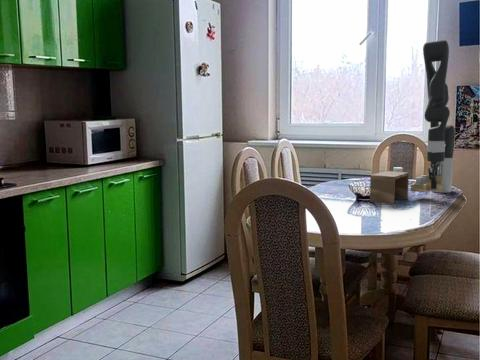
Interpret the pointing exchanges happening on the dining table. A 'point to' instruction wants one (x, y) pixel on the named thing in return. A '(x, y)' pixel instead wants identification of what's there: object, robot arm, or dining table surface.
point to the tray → (426, 184)
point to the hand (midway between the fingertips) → (434, 187)
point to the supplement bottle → (397, 169)
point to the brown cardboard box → (388, 186)
